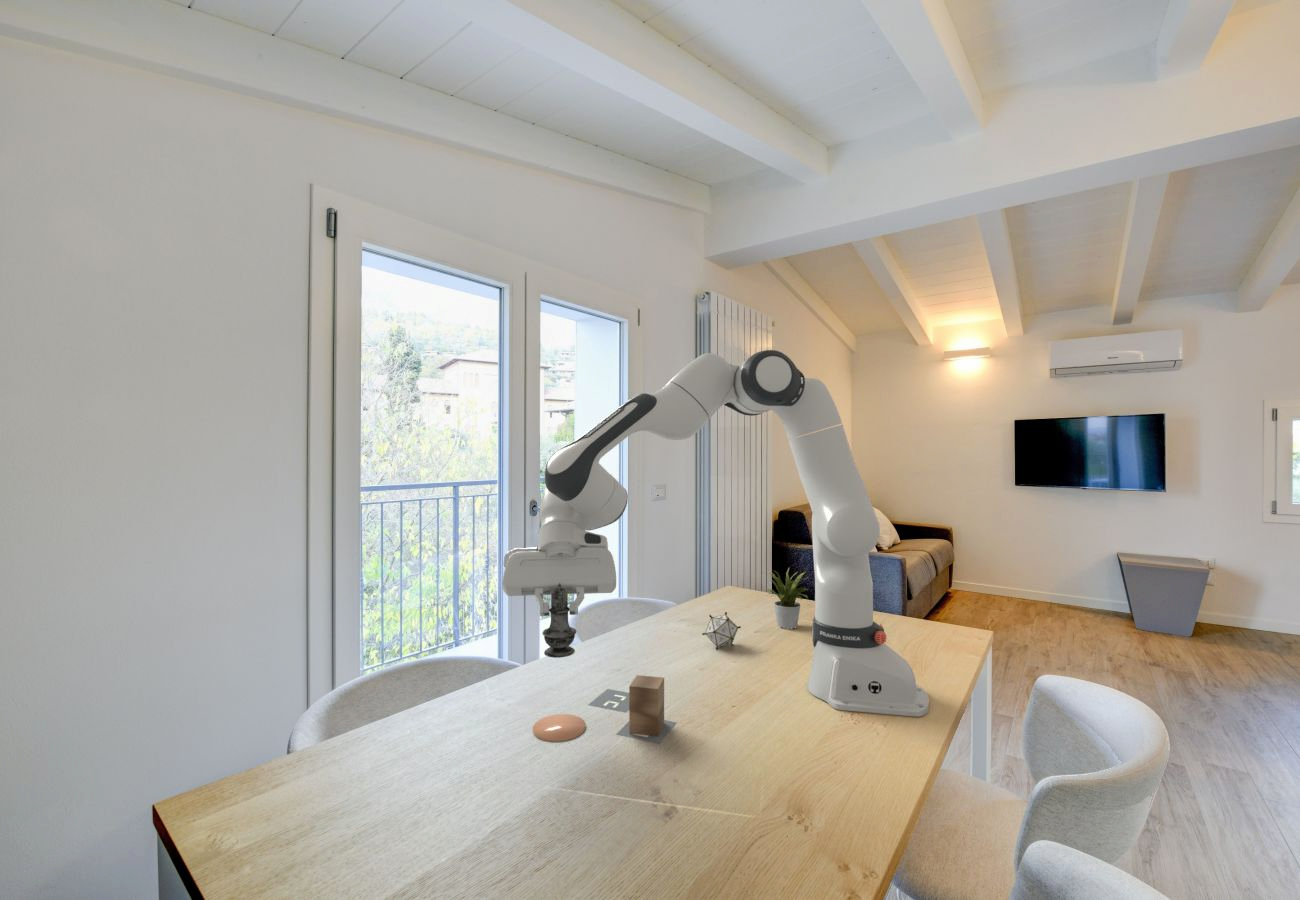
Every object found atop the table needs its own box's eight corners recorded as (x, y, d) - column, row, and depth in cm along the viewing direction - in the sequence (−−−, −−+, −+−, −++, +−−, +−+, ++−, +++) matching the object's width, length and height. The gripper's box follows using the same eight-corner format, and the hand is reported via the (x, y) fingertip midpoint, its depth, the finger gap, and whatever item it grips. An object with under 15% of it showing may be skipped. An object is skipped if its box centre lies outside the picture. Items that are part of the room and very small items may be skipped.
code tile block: (676, 723, 102) (676, 722, 102) (659, 744, 94) (659, 743, 94) (635, 715, 105) (635, 714, 105) (616, 735, 97) (616, 734, 97)
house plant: (756, 633, 152) (756, 571, 152) (756, 618, 166) (755, 561, 166) (812, 636, 150) (812, 573, 150) (807, 620, 163) (806, 563, 163)
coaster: (594, 722, 102) (594, 719, 102) (568, 746, 94) (568, 743, 94) (551, 713, 105) (551, 710, 105) (522, 736, 97) (522, 732, 97)
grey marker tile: (643, 696, 113) (643, 695, 113) (625, 713, 106) (625, 712, 106) (607, 689, 116) (607, 688, 116) (587, 705, 109) (587, 704, 109)
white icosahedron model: (728, 663, 141) (744, 638, 135) (696, 651, 141) (710, 625, 135) (731, 635, 148) (746, 610, 143) (700, 623, 148) (714, 598, 143)
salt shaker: (583, 649, 101) (582, 581, 101) (564, 660, 96) (564, 588, 96) (555, 644, 104) (555, 578, 104) (535, 655, 98) (535, 585, 98)
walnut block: (664, 722, 101) (664, 677, 101) (658, 736, 97) (658, 688, 97) (636, 719, 103) (636, 675, 103) (629, 733, 98) (629, 686, 98)
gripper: (503, 538, 105) (495, 606, 96) (615, 536, 108) (618, 602, 98) (506, 558, 110) (499, 625, 100) (613, 556, 112) (616, 620, 102)
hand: (559, 613), depth 99 cm, fingers closed on salt shaker, 4 cm apart
